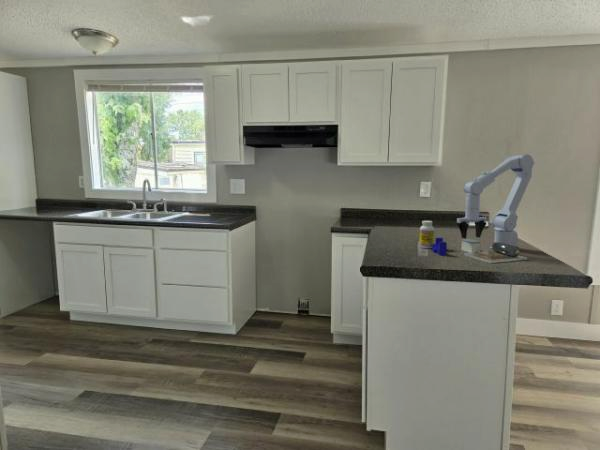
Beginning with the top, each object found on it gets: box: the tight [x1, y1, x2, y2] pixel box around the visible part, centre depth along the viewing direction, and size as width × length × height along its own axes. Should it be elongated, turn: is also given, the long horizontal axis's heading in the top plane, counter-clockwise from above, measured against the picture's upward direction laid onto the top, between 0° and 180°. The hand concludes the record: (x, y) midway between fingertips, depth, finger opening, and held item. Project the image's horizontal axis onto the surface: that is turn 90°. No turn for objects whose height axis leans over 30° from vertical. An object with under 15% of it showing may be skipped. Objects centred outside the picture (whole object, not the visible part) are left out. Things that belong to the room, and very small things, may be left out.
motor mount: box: [463, 242, 528, 264], centre depth 169 cm, size 18×16×5 cm
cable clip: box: [431, 237, 448, 257], centre depth 181 cm, size 12×4×6 cm, turn 169°
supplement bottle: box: [418, 220, 435, 249], centre depth 192 cm, size 7×7×13 cm
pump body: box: [461, 238, 481, 253], centre depth 183 cm, size 4×7×5 cm, turn 16°
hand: (471, 237), depth 183 cm, fingers open, 7 cm apart
